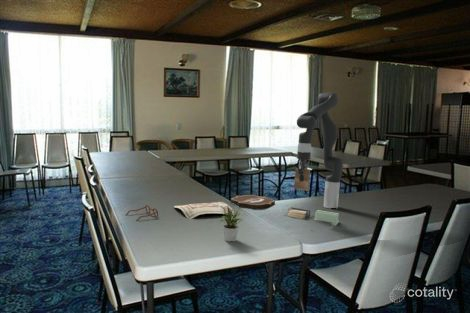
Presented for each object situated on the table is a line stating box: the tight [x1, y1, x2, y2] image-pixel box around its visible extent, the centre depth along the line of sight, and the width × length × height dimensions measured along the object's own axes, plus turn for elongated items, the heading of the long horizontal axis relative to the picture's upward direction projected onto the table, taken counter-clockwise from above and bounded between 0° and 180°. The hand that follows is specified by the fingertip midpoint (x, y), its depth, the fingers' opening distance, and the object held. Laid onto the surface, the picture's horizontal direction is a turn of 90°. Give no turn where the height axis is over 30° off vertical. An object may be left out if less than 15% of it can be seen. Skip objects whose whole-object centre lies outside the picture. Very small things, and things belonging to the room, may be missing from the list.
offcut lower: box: [288, 214, 306, 220], centre depth 214 cm, size 5×9×2 cm, turn 64°
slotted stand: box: [313, 209, 340, 227], centre depth 211 cm, size 8×12×6 cm, turn 64°
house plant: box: [217, 206, 246, 242], centre depth 171 cm, size 14×14×16 cm
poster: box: [173, 201, 236, 220], centre depth 219 cm, size 28×6×30 cm
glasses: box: [125, 204, 159, 222], centre depth 201 cm, size 13×13×5 cm
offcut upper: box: [287, 210, 306, 216], centre depth 213 cm, size 5×9×2 cm, turn 68°
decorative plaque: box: [230, 194, 276, 210], centre depth 246 cm, size 30×3×30 cm
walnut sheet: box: [293, 167, 311, 192], centre depth 216 cm, size 2×8×12 cm, turn 63°
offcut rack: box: [282, 206, 313, 221], centre depth 216 cm, size 12×14×4 cm
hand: (301, 180), depth 217 cm, fingers closed on walnut sheet, 1 cm apart
